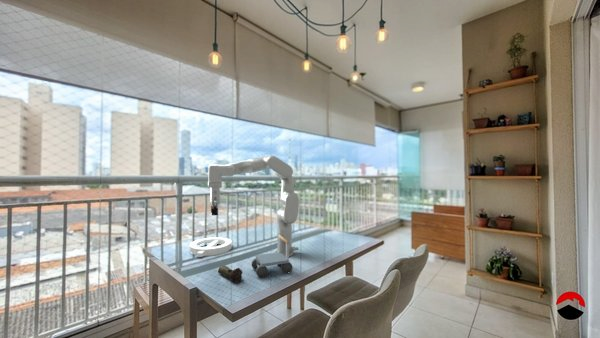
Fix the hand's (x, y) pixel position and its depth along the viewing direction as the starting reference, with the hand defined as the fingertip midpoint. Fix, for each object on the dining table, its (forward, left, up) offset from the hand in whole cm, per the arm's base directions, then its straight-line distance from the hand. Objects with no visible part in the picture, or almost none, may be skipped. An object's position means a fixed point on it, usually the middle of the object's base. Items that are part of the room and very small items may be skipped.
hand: (214, 213), depth 142 cm
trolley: (-29, +21, -30) cm, 47 cm away
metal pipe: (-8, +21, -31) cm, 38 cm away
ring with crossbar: (0, -31, -31) cm, 44 cm away
